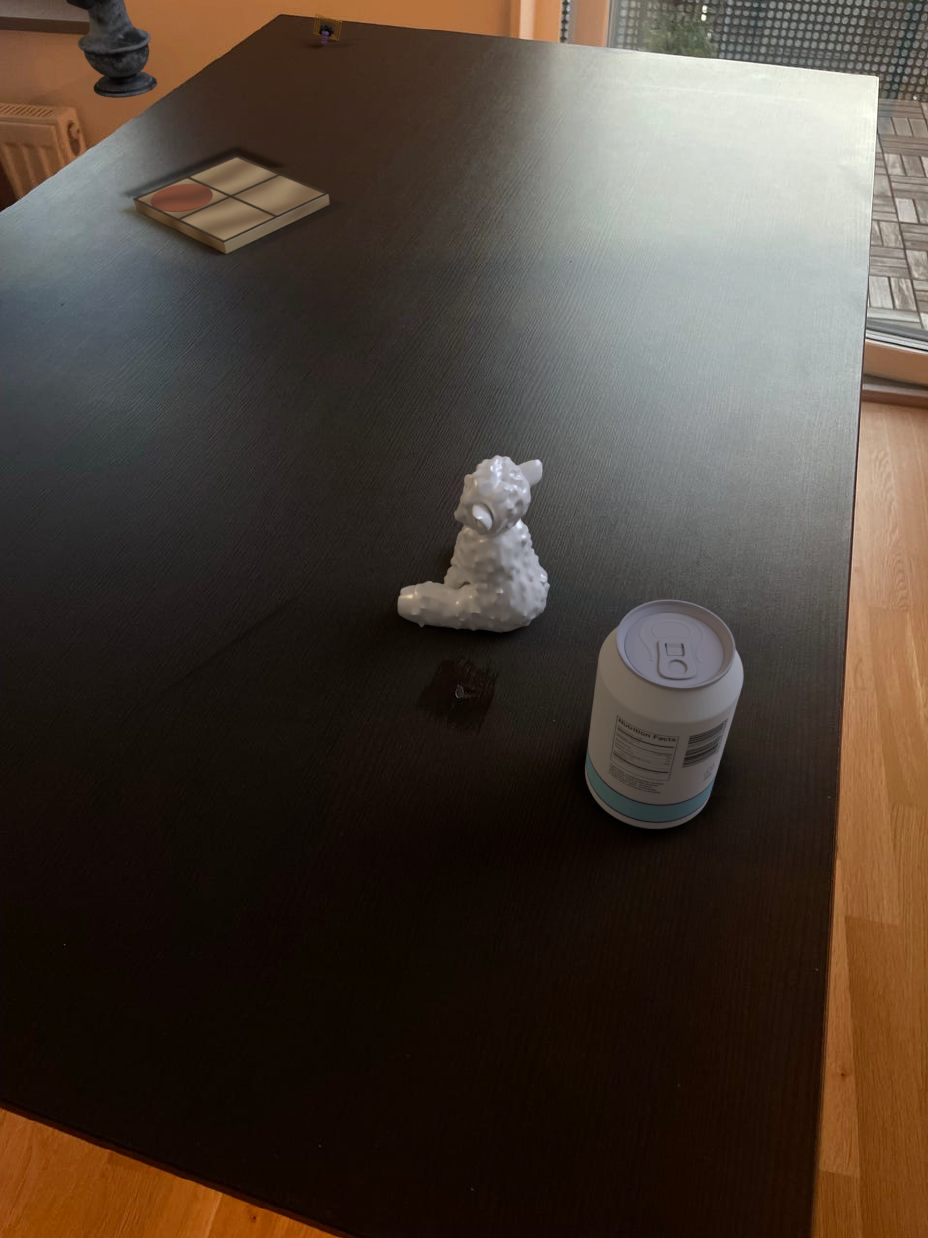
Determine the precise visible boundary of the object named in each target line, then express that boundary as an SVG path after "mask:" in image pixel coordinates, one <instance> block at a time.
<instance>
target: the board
mask: <svg viewBox="0 0 928 1238" xmlns="http://www.w3.org/2000/svg"><path fill="white" fill-rule="evenodd" d="M132 200H133V203H134V207H135V210H136V212H139V213H141V212H142V213H141V214H142V215H145V216H147V217H149V218H150V219H153V220H155V221H157V222H158V223H161V224H163V225H165V226H167V227H169V228H171V229H174V230H175V231H178V232H180V233H181V234H184V235H186V236H188V237H189V238H192V239H194V240H196V241H199V242H200V243H203V244H204V245H206V246H209V247H211V248H212V249H214V250H217V251H219V252H221V253H223V254H225V255H227V254H230V253H232V252H234V251H236V250H238V249H240V248H242V247H244V246H246V245H249V244H250V243H253V242H255V241H257V240H259V239H261V238H263V237H265V236H267V235H269V234H272V233H274V232H276V231H277V230H280V229H282V228H284V227H287V226H289V225H290V224H292V223H294V222H297V221H300V220H301V219H303V218H306V217H307V216H309V215H311V214H313V213H315V212H318V211H319V210H321V209H323V208H326V207H328V206H330V205H331V204H330V196H329V192H327V191H325V190H323V189H320V188H317V187H315V186H313V185H311V184H308V183H305V182H303V181H300V180H298V179H295V178H293V177H291V176H288V175H286V174H284V173H281V172H279V171H276V170H274V169H272V168H269V167H267V166H264V165H262V164H259V163H257V162H254V161H252V160H250V159H247V158H244V157H242V156H239V155H234V156H232V157H229V158H227V159H225V160H222V161H220V162H218V163H215V164H213V165H211V166H208V167H206V168H203V169H202V170H201V169H200V170H199V171H196V172H194V173H191V174H189V175H186V176H184V177H182V178H179V179H177V180H175V181H172V182H170V183H167V184H165V185H163V186H161V187H158V188H155V189H153V190H150V191H148V192H146V193H143V194H141V195H139V196H136V197H133V198H132Z"/></svg>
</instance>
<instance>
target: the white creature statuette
mask: <svg viewBox="0 0 928 1238" xmlns="http://www.w3.org/2000/svg"><path fill="white" fill-rule="evenodd" d="M542 477H543V463H542V461H541V460H540V459H530V460H527V461H525V462H522V463H520V464H518V465H516V463H515V462H514V461H512V459H511V457H510V456H500V455H499V454H497V455H494V456H493V457H492V458H491V459H489V458H486V459H483V460H482V461H481V462H480V463H478V464H477V465H476V466H475V471H474V472H472V473H471V474H466V475H464V478H463V483H464V485H463V489H462V493H461V495H460V498H459V504H458V506H457V509H456V510H455V511H454V513H453V515H454V519H455V520H456V522H459V523H461V524H463V526H462V527H461V530H460V531H459V532H458V534H457V537H456V539H455V545H454V548H453V550H454V551H453V556H452V558H451V559H450V565H451V566H450V567H449V568H448V569H447V571H446V575H444V577H443V582H444V583H439V582H433V581H431V580H428V581H424V582H423V583H417V584H414V585H408V586H404V587H402V588H401V589H400V592H399V593H400V595H398V599H397V614H398V616H400V617H401V618H403V619H404V620H407V621H410V622H413V623H416V624H418V625H419V627H420V628H423V627H424V626H425V625H429V626H434V627H441V628H442V627H444V628H451V629H452V628H453V629H455V630H460V629H462V630H463V629H465V630H471V631H474V632H475V631H477V630H481V631H482V630H483V631H489V632H490V631H491V632H495V633H503V632H504V633H506V632H511V631H514V630H516V629H520V628H523V627H527V626H529V625H530V624H531V622H532V621H533V619H536V618H538V617H539V616H540V614H543V613H544V610H545V608H546V607H547V597H548V595H549V594H548V593H549V589H550V587H551V584H550V583H549V582H548V572H546V570H545V569H544V568H543V567H542V566H541V565H540V562H539V555H537V554H536V553H535V550H534V548H532V546H533V540H532V539H531V538H532V535H531V533H530V532H529V528H528V525H527V524H525V523H524V522H523V521H522V518H523V517H524V516H525V515H526V513H527V512H528V509H529V507H530V503H531V502H532V496H531V495H532V494H531V488H532V487H534V486H535V485H537V484H538V483H540V481H541V480H542Z"/></svg>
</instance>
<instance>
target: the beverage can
mask: <svg viewBox="0 0 928 1238" xmlns="http://www.w3.org/2000/svg"><path fill="white" fill-rule="evenodd" d="M595 676H596V677H595V685H594V693H593V701H592V709H591V716H590V717H591V718H590V726H589V735H588V742H587V749H586V756H585V757H586V758H585V765H584V770H585V771H584V774H585V781H586V785H587V787H588V790H589V792H590V794H591V795H592V797H593V798H594V800H595V801H596V802H597V804H598V805H599V806H600V807H601V808H602V809H603V810H604V811H605V812H606V813H608V814H609V815H611V816H612V817H614V818H615V819H617V820H619V821H620V822H623V823H625V824H627V825H630V826H633V827H636V828H637V827H638V828H641V829H649V830H663V829H668V828H673V827H677V826H680V825H682V824H684V823H686V822H688V821H690V820H692V819H693V818H694V817H696V816H697V815H698V814H699V813H700V812H702V810H703V809H704V807H705V806H706V805H707V803H708V800H709V798H710V797H711V793H712V790H713V787H714V783H715V780H716V776H717V773H718V769H719V766H720V762H721V759H722V757H723V753H724V749H725V746H726V742H727V739H728V735H729V733H730V728H731V726H732V722H733V719H734V715H735V712H736V708H737V705H738V702H739V699H740V695H741V692H742V688H743V685H744V666H743V663H742V660H741V656H740V655H739V652H738V650H737V649H736V641H735V638H734V635H733V633H732V631H731V630H730V628H729V627H728V625H727V624H726V623H725V622H724V621H723V620H722V619H721V617H719V616H718V615H717V614H716V613H714V612H712V611H711V610H709V609H707V608H705V607H703V606H701V605H699V604H696V603H694V602H690V601H685V600H679V599H657V600H652V601H648V602H645V603H642V604H640V605H638V606H636V607H634V608H633V609H631V610H630V611H629V612H628V613H626V615H625V616H623V618H622V619H621V620H620V623H619V624H618V626H616V627H615V628H613V630H612V631H611V632H610V633H609V634H608V635H607V637H606V638H605V640H604V641H603V643H602V645H601V648H600V651H599V654H598V661H597V668H596V675H595Z"/></svg>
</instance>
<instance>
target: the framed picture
mask: <svg viewBox="0 0 928 1238" xmlns="http://www.w3.org/2000/svg"><path fill="white" fill-rule="evenodd" d="M314 16H315V17H314V25H313V30H312V31H313V32H312V33H313V34H314V35H317V36H320V37H321V39H320V43H321V45H324V46H326V45H327V44H328V42H329V41H328V40H329V39H331V40H334V41H337V42H339V41H340V35H341V28H342V23H343V21H342V20H339V19H336V18H332V17H329V16H325V15H322V14H318V13H315V15H314ZM321 21H325V22H329V23H332V24H335V27H337V28H335V31H334V30H333V26H330V25H329V24H325V25H323V24H320V23H321ZM335 34H336V35H335Z"/></svg>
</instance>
